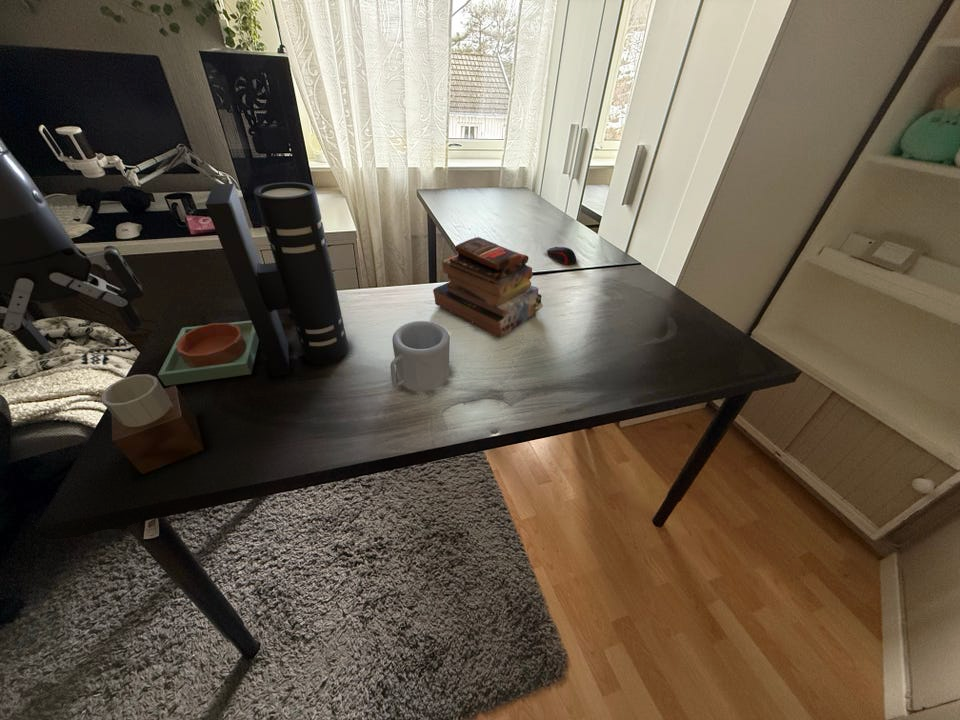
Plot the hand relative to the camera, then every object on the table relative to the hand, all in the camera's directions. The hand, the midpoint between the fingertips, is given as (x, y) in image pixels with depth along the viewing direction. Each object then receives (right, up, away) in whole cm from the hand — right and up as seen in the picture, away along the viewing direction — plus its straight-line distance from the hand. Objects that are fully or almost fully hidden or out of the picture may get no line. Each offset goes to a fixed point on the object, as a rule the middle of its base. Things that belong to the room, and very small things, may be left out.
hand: (92, 338), depth 47 cm
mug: (+36, -7, +29) cm, 47 cm away
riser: (-1, -16, +13) cm, 21 cm away
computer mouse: (+76, +32, +79) cm, 114 cm away
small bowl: (-1, -10, +8) cm, 13 cm away
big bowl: (-6, -1, +30) cm, 31 cm away
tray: (-6, -2, +31) cm, 32 cm away
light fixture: (+13, -2, +33) cm, 35 cm away
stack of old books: (+51, +10, +51) cm, 72 cm away
